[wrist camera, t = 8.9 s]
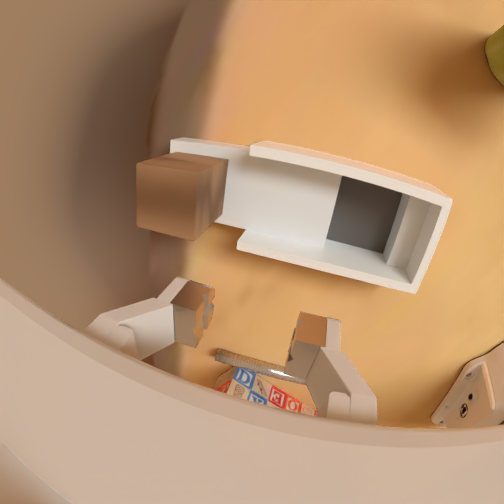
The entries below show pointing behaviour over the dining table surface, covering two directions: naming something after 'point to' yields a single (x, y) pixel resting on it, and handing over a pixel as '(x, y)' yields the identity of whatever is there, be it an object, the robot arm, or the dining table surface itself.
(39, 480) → the robot arm
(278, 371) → the steel rod
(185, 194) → the walnut block
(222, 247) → the dining table surface
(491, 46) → the plant pot
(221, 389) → the stack of blocks
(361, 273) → the channel
